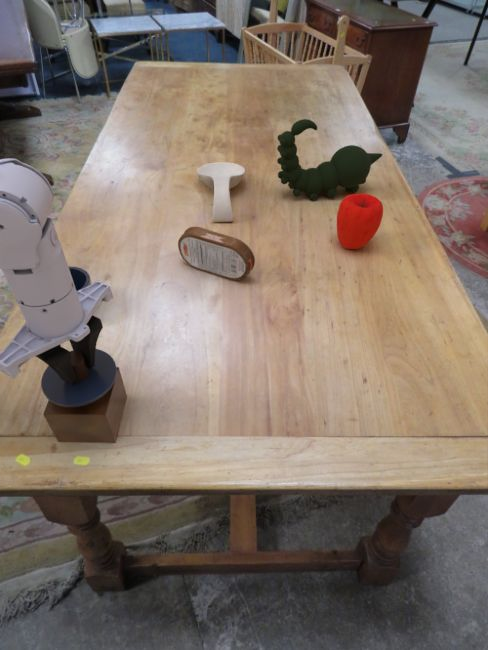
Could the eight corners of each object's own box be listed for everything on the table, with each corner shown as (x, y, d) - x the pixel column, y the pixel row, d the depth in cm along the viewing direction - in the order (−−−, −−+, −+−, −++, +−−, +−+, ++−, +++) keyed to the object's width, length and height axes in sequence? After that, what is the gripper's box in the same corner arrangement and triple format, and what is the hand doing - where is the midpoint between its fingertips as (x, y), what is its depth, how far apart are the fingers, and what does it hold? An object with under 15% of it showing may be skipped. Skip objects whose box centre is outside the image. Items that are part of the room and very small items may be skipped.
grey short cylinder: (39, 322, 73) (28, 298, 69) (55, 289, 79) (46, 265, 75) (89, 323, 73) (82, 299, 69) (101, 290, 79) (95, 267, 75)
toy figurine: (284, 213, 103) (384, 196, 105) (284, 132, 89) (399, 114, 91) (274, 193, 109) (369, 178, 111) (273, 115, 95) (381, 99, 98)
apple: (358, 263, 86) (371, 215, 79) (322, 245, 91) (331, 198, 83) (381, 245, 91) (395, 198, 84) (346, 229, 95) (356, 182, 88)
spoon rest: (197, 174, 112) (196, 146, 107) (243, 173, 113) (244, 146, 108) (197, 224, 95) (195, 193, 90) (250, 223, 96) (251, 193, 91)
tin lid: (31, 406, 51) (21, 388, 49) (55, 349, 58) (47, 330, 55) (107, 408, 51) (101, 389, 49) (123, 350, 58) (118, 332, 55)
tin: (254, 278, 82) (256, 240, 76) (247, 288, 80) (249, 250, 74) (185, 257, 87) (182, 220, 81) (177, 265, 85) (173, 228, 79)
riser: (57, 441, 57) (42, 414, 53) (74, 394, 63) (61, 365, 58) (115, 442, 57) (105, 415, 53) (127, 395, 63) (118, 366, 58)
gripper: (10, 348, 38) (55, 431, 48) (122, 263, 47) (141, 347, 57) (-40, 319, 41) (12, 403, 50) (75, 243, 50) (101, 327, 59)
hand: (78, 372), depth 54 cm, fingers closed on tin lid, 2 cm apart
